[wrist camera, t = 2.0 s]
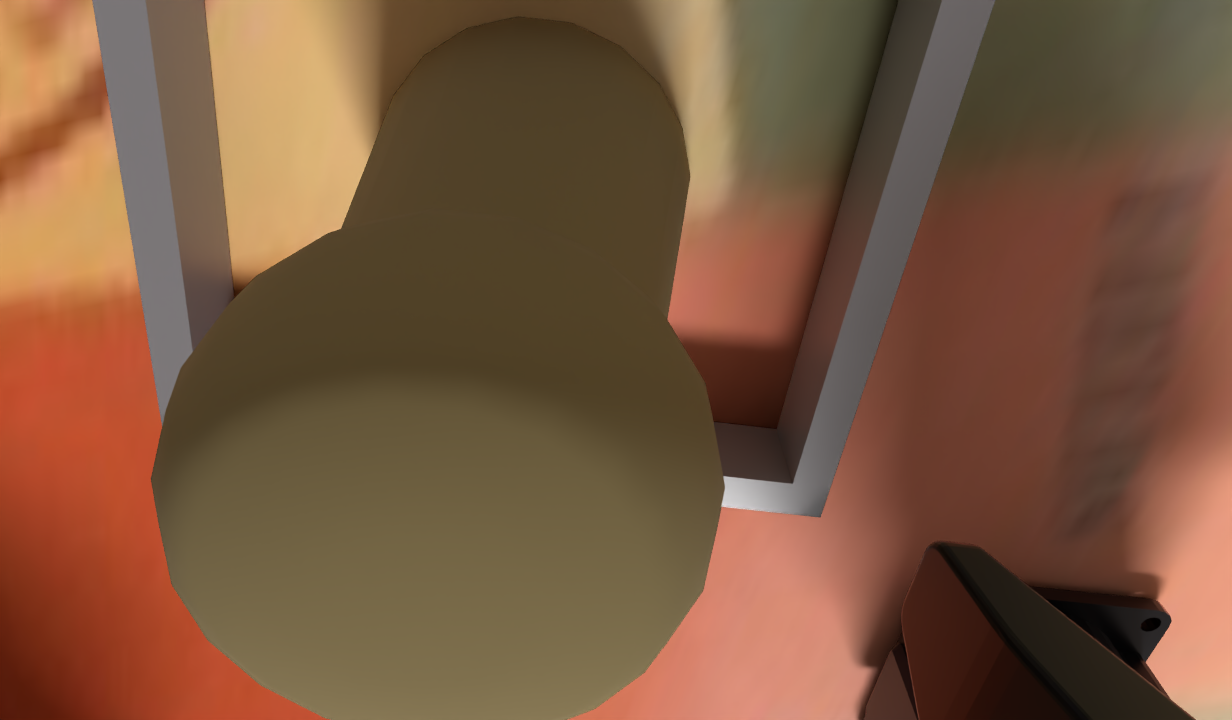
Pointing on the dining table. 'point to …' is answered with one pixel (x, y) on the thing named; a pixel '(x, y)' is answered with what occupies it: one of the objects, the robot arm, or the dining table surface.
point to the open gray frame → (750, 456)
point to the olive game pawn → (460, 408)
